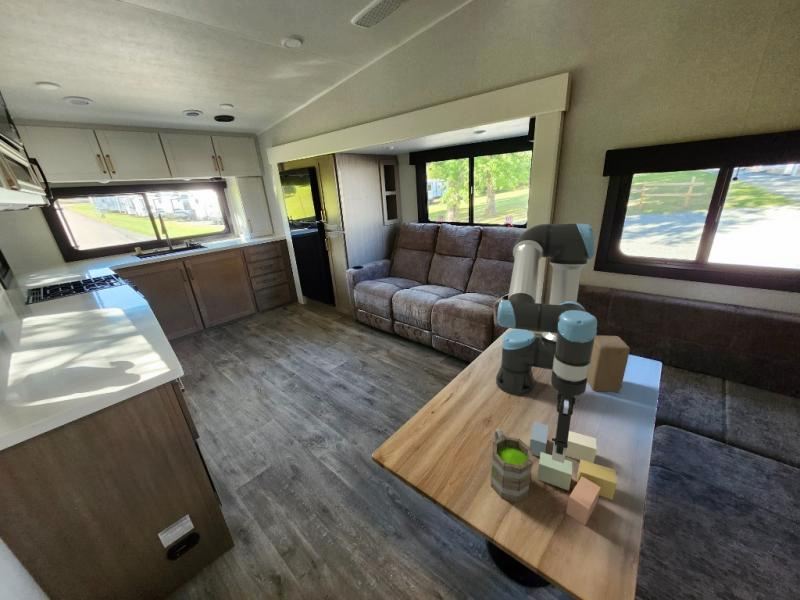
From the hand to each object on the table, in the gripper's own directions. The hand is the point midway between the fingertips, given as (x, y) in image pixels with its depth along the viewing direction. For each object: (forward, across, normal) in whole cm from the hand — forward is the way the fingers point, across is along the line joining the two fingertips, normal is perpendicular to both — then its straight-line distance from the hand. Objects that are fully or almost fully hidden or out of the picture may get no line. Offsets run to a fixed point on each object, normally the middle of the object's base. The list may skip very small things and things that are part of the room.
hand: (559, 440), depth 81 cm
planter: (+14, +73, +13) cm, 76 cm away
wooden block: (+14, +53, -14) cm, 57 cm away
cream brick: (+14, +12, -6) cm, 20 cm away
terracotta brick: (+14, -6, -7) cm, 17 cm away
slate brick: (+14, +10, +5) cm, 18 cm away
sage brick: (+14, 0, 0) cm, 14 cm away
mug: (+14, -5, +12) cm, 19 cm away
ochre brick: (+14, +2, -10) cm, 17 cm away
